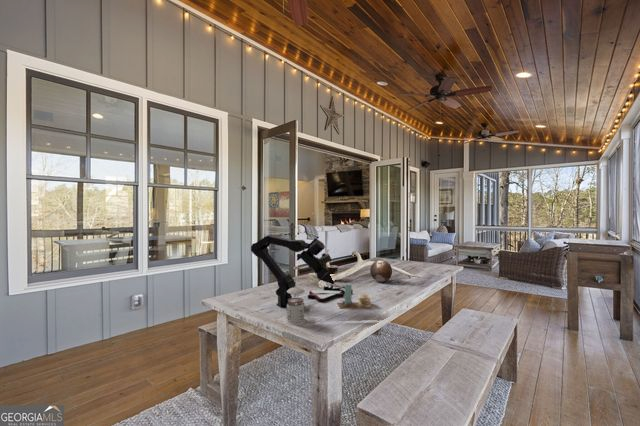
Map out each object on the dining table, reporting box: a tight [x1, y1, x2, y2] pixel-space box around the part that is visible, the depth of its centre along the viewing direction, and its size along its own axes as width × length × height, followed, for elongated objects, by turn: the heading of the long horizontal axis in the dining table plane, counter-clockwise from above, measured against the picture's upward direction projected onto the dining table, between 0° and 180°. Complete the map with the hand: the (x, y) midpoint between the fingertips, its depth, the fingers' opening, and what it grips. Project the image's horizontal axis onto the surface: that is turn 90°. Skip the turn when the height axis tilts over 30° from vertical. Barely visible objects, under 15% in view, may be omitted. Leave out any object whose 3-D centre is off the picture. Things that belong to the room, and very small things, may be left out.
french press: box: [284, 266, 307, 326], centre depth 139 cm, size 10×12×25 cm
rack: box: [336, 294, 372, 310], centre depth 158 cm, size 16×10×6 cm, turn 95°
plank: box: [344, 283, 352, 304], centre depth 157 cm, size 3×2×11 cm
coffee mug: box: [326, 264, 339, 275], centre depth 217 cm, size 12×9×10 cm
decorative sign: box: [307, 283, 354, 304], centre depth 178 cm, size 18×4×30 cm
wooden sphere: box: [369, 259, 393, 283], centre depth 213 cm, size 15×15×15 cm
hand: (332, 281), depth 157 cm, fingers open, 9 cm apart
